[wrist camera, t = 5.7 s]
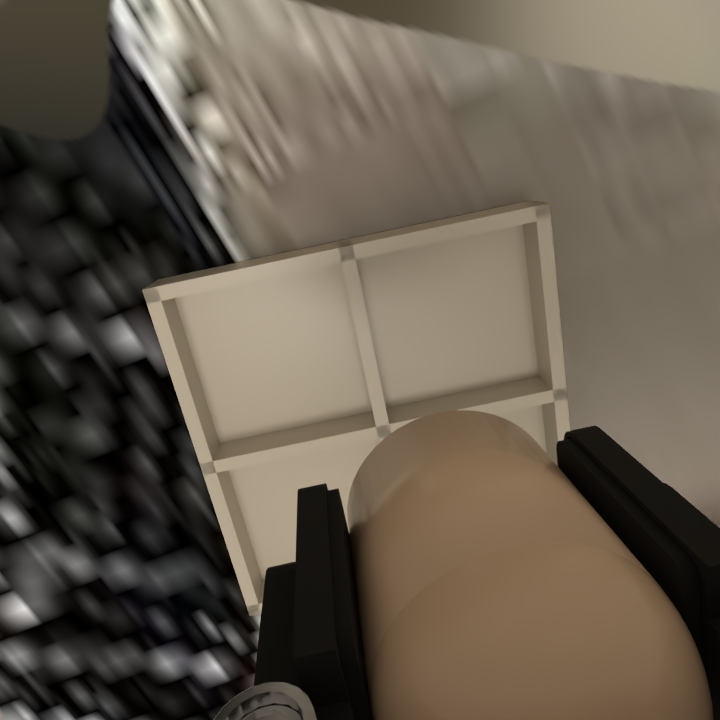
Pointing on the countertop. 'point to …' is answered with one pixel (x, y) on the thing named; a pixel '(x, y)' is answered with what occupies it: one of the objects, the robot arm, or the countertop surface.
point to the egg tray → (356, 359)
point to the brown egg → (505, 588)
